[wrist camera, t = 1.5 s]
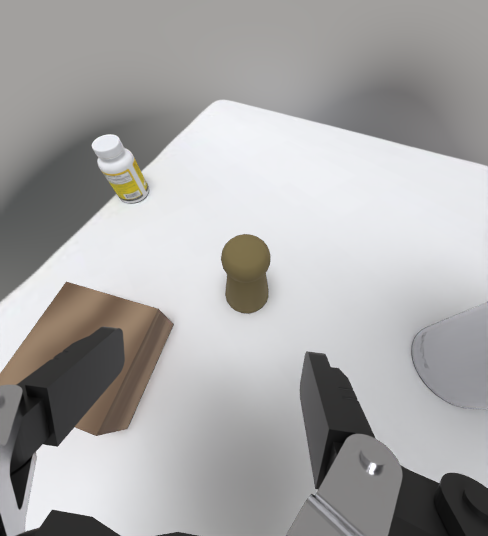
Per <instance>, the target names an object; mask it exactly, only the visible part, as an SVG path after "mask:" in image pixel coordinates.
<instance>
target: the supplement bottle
mask: <svg viewBox="0 0 488 536" xmlns="http://www.w3.org/2000/svg"><path fill="white" fill-rule="evenodd" d="M92 148H93V150H94V151H95V153H96V155H97V156H98V157H99V158H98V165H99V168H100V169H101V171H102V173H103V174H104V176H105V177H106V178H107V180H108V182H109V183H110V185H111V186H112V188H113V189H114V191H115V192H116V194H117V195H118V196H119V198H120V199H121V200H122V201H124V202H126V203H136V202H139V201H141V200H143V199H144V198H145V197H146V196H147V194H148V192H149V187H148V185H147V183H146V181H145V179H144V177H143V175H142V173H141V171H140V169H139V167H138V164H137V162H136V160H135V158H134V157H133V155H132V153H131V152H130V151H129V150H128V149H125V148H124V147H123V144H122V143H121V141H120V139H119V138H118V137H117V136H115V135H110V134H109V135H103V136H101V137H98V138H97V139H96V140H94V142H93V143H92Z"/></svg>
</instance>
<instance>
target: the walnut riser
mask: <svg viewBox="0 0 488 536" xmlns="http://www.w3.org/2000/svg"><path fill="white" fill-rule="evenodd" d="M103 326H104V327H112V328H120V329H122V331H123V340H124V354H125V362H124V366H123V369H122V371H121V373H120V374H119V375H118V376H117V378H116V379H115V380H114V381H113V382H112V383H111V385H110V386H109V387H108V388H107V389H106V390H105V392H104V393H103V394H102V395H101V396H100V397H99V399H98V400H97V401H96V402H95V403H94V405H93V406H92V407H91V408H90V409H89V410H88V412H87V413H86V414H85V415H84V416H83V417H82V419H81V420H80V421H79V422H78V423H77V424H76V426H75V427H76V428H78V429H80V430H83V431H85V432H88V433H90V434H93V435H95V436H98V435H103V434H107V433H111V432H116V431H120V430H124V429H127V428H128V426H129V424H130V421H131V419H132V417H133V415H134V412H135V410H136V408H137V406H138V403H139V401H140V399H141V397H142V394H143V392H144V390H145V388H146V385H147V383H148V381H149V379H150V376H151V374H152V372H153V370H154V367H155V365H156V363H157V361H158V358H159V356H160V354H161V352H162V349H163V347H164V345H165V342H166V340H167V338H168V336H169V333H170V331H171V329H172V327H173V323H172V322H171V321H170V320H169V319H168V318H167V317H166V316H165V315H164V314H163V313H162V312H161V311H160V310H159V309H157V308H153V307H150V306H147V305H143V304H140V303H137V302H133V301H130V300H126V299H123V298H120V297H116V296H113V295H110V294H106V293H103V292H99V291H96V290H93V289H89V288H86V287H83V286H79V285H76V284H72V283H69V282H66V283H65V284H64V286H63V287H62V288H61V290H60V291H59V293H58V294H57V295H56V297H55V298H54V300H53V301H52V302H51V304H50V305H49V307H48V308H47V309H46V311H45V312H44V313H43V315H42V316H41V318H40V319H39V320H38V322H37V323H36V325H35V326H34V327H33V329H32V330H31V332H30V333H29V334H28V336H27V337H26V339H25V340H24V341H23V343H22V344H21V345H20V347H19V348H18V350H17V351H16V352H15V354H14V355H13V357H12V358H11V359H10V361H9V362H8V364H7V365H6V366H5V368H4V369H3V370H2V372H1V373H0V386H2V385H16V384H18V383H19V382H21V381H22V380H23V379H25V378H26V377H27V376H29V375H30V374H31V373H33V372H34V371H36V370H37V369H38V368H40V367H41V366H42V365H44V364H45V363H46V362H48V361H49V360H51V359H53V357H55V356H56V355H57V354H59V353H60V352H62V351H63V350H64V349H66V348H67V347H68V346H70V345H71V344H72V343H74V342H76V341H78V340H81V339H83V338H85V337H87V336H90V335H91V334H92V333H94V332H95V331H96V330H98V329H99V328H100V327H103Z"/></svg>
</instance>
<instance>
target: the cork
mask: <svg viewBox="0 0 488 536" xmlns="http://www.w3.org/2000/svg"><path fill="white" fill-rule="evenodd" d="M221 261H222V265H223V269H224V270H225V272H226V273H227V283H226V293H225V295H226V299H227V302H228V303H229V305H230V306H231V307H232V308H233V309H234V310H236V311H238V312H241V313H253V312H256V311H258V310H259V309H261V308H262V307H263V306H264V305H265V303H266V302H267V299H268V285H267V279H266V271H267V270H268V267H269V265H270V252H269V249H268V247H267V245H266V244H265V243H264V241H262V240H261V239H259V238H258V237H256V236H253V235H248V234H243V235H238V236H236V237H234V238H232V239H231V240H230V241H228V242H227V243H226V244H225V246H224V248H223V250H222V256H221Z"/></svg>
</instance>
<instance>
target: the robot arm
mask: <svg viewBox="0 0 488 536" xmlns="http://www.w3.org/2000/svg"><path fill="white" fill-rule="evenodd" d="M412 356H413V361H414V364H415V367H416V370H417V371H418V373H419V375H420V377H421V378H422V380H423V381H424V382H425V384H426V385H427V386H428V387H429V388H430V389H431V390H432V391H433V392H434V393H435V394H436V395H438V396H439V397H441V398H442V399H443V400H445V401H447V402H449V403H451V404H453V405H456V406H459V407H463V408H473V409H488V302H486V303H483V304H481V305H479V306H476V307H474V308H471V309H469V310H467V311H464V312H462V313H459V314H457V315H455V316H452V317H450V318H447V319H445V320H443V321H440V322H438V323H436V324H433V325H431V326H428V327H426V328H424V329H422V330H421V331H420V332H419V333H418V334H417V335H416V337H415V339H414V342H413V345H412ZM124 362H125V354H124V340H123V331H122V329H120V328H112V327H104V326H103V327H100V328H99V329H98V330H96V331H95V332H94V333H92V334H91V335H90V336H87V337H85V338H83V339H81V340H78V341H76V342H74V343H72V344H71V345H70V346H68V347H67V348H66V349H64V350H63V351H62V352H60V353H59V354H57V355H56V356H55V357H53V359H51V360H49V361H48V362H46V363H45V364H44V365H42V366H41V367H40V368H38V369H37V370H36V371H34V372H33V373H31V374H30V375H29V376H27V377H26V378H25V379H23V380H22V381H21V382H19V383H18V384H16V385H2V386H0V536H120V535H119V534H117V533H116V532H114V531H113V530H111V529H110V528H108V527H107V526H105V525H104V524H102V523H101V522H99V521H98V520H96V519H95V518H93V517H90V516H85V515H79V514H73V513H68V512H62V511H56V510H52V511H51V512H50V513H49V515H48V516H47V518H46V519H45V521H44V522H43V523H42V525H41V526H40V528H37V529H33V530H30V531H26V532H25V522H26V514H27V509H28V503H29V498H30V492H31V487H32V481H33V476H34V470H35V465H36V459H37V456H36V451H37V450H38V449H39V448H40V446H41V445H42V444H45V445H51V446H57V447H58V446H59V444H60V443H61V442H62V441H63V440H64V439H65V437H66V436H67V435H68V434H69V433H70V432H71V430H72V429H73V428H74V427H75V426H76V424H77V423H78V422H79V421H80V420H81V419H82V417H83V416H84V415H85V414H86V413H87V412H88V410H89V409H90V408H91V407H92V406H93V405H94V403H95V402H96V401H97V400H98V399H99V397H100V396H101V395H102V394H103V393H104V392H105V390H106V389H107V388H108V387H109V386H110V385H111V383H112V382H113V381H114V380H115V379H116V378H117V376H118V375H119V374H120V373H121V371H122V369H123V366H124ZM300 400H301V406H302V412H303V418H304V424H305V430H306V435H307V441H308V447H309V453H310V459H311V465H312V471H313V477H314V483H315V489H319V490H318V491H317V493H316V494H315V496H314V495H313V494H311V495H310V496H309V497H308V499H307V500H306V502H305V503H304V505H303V507H302V509H301V510H300V512H299V514H298V516H297V517H296V519H295V521H294V523H293V524H292V526H291V528H290V530H289V531H288V533H287V535H286V536H488V488H486V487H485V486H483V485H482V484H480V483H479V482H477V481H475V480H474V479H472V478H470V477H467V476H465V475H462V474H458V473H447V474H445V475H444V476H443V477H442V479H441V481H440V483H437V482H435V481H433V480H430V479H428V478H426V477H424V476H421V475H419V474H417V473H414V472H412V471H410V470H408V469H406V468H404V467H403V466H401V465H400V464H399V461H398V460H397V458H396V457H395V455H394V454H393V453H392V452H391V450H390V449H389V448H388V447H386V446H385V445H384V444H383V443H381V442H380V441H378V440H377V439H375V436H374V434H373V432H372V430H371V428H370V425H369V423H368V421H367V419H366V417H365V415H364V412H363V410H362V408H361V406H360V404H359V401H357V397H356V395H355V393H354V391H353V388H352V386H351V384H350V382H349V380H348V378H347V377H346V376H345V375H344V374H343V373H342V372H341V370H340V369H339V368H332V367H330V364H329V362H328V359H327V357H326V355H325V354H323V353H315V352H306V354H305V358H304V364H303V370H302V376H301V382H300ZM157 536H197V535H192V534H186V533H180V532H175V533H169V534H163V535H157Z"/></svg>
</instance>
